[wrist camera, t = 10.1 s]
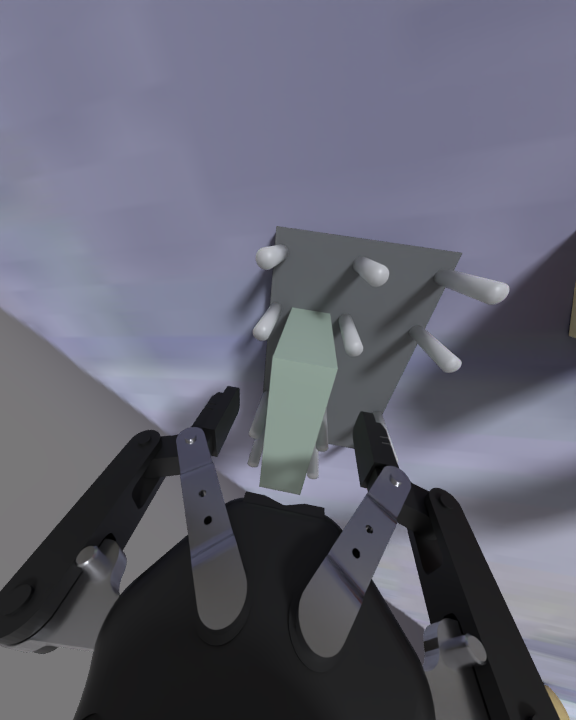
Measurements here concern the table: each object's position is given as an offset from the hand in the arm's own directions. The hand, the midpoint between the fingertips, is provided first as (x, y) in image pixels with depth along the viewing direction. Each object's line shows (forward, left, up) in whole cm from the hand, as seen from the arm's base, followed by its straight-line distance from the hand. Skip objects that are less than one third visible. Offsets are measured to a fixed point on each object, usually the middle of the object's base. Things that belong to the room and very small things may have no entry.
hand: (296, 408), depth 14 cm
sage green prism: (0, +1, -6) cm, 6 cm away
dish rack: (-3, 0, -7) cm, 7 cm away
